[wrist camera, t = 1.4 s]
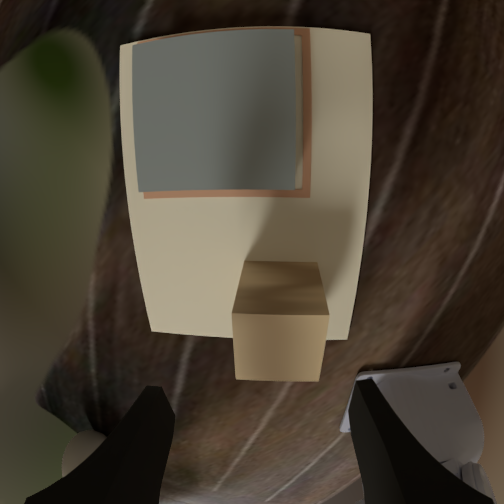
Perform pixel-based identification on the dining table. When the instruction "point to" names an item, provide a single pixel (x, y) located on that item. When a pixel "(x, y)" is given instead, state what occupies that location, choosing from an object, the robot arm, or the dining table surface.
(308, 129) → the white flat sheet
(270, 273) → the maple block
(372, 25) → the dining table surface
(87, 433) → the donut
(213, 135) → the slate slab
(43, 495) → the robot arm
